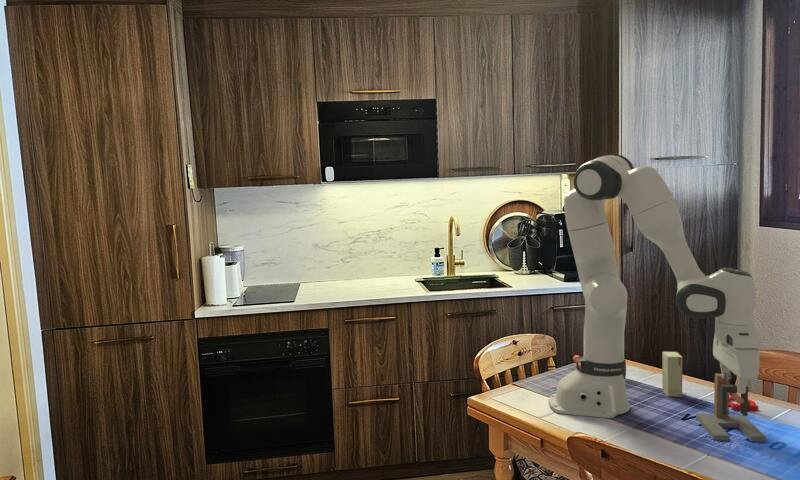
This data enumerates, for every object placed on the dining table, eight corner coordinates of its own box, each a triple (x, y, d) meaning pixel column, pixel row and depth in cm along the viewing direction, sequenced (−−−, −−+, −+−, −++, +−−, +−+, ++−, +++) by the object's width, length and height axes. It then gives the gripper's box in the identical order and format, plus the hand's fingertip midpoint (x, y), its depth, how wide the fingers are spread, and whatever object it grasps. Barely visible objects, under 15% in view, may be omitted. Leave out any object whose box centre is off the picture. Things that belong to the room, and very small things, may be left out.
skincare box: (682, 397, 181) (683, 357, 180) (667, 397, 182) (667, 357, 180) (676, 390, 187) (677, 351, 186) (661, 389, 188) (662, 350, 187)
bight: (722, 415, 155) (722, 386, 154) (719, 412, 157) (719, 384, 156) (747, 415, 154) (748, 387, 153) (744, 413, 156) (745, 384, 155)
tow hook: (717, 400, 179) (729, 410, 170) (718, 356, 179) (730, 364, 170) (748, 401, 178) (761, 411, 169) (748, 357, 177) (762, 365, 168)
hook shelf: (714, 439, 152) (715, 390, 151) (695, 417, 166) (696, 372, 164) (766, 441, 150) (767, 391, 149) (743, 419, 164) (744, 373, 163)
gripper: (707, 322, 164) (706, 372, 165) (736, 343, 144) (735, 400, 145) (732, 323, 163) (730, 373, 164) (765, 343, 143) (763, 400, 144)
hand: (733, 386), depth 155 cm, fingers open, 8 cm apart
